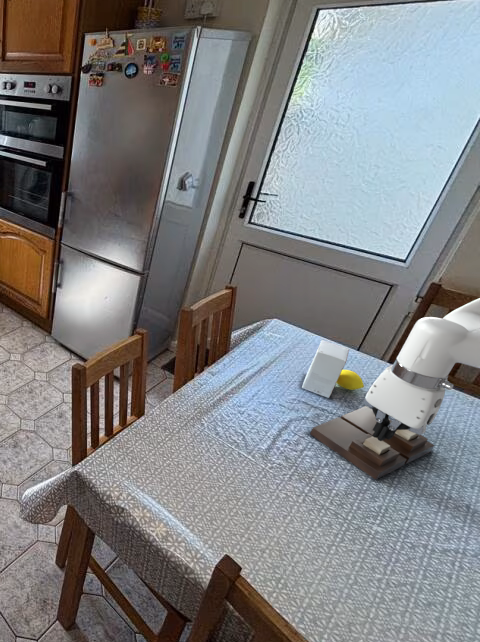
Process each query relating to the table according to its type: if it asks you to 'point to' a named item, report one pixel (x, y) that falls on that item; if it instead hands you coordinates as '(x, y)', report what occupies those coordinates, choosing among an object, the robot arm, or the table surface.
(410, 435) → the key
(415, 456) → the keys low
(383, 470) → the keys high
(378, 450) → the key
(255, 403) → the table surface
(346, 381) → the lemon
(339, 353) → the small box
